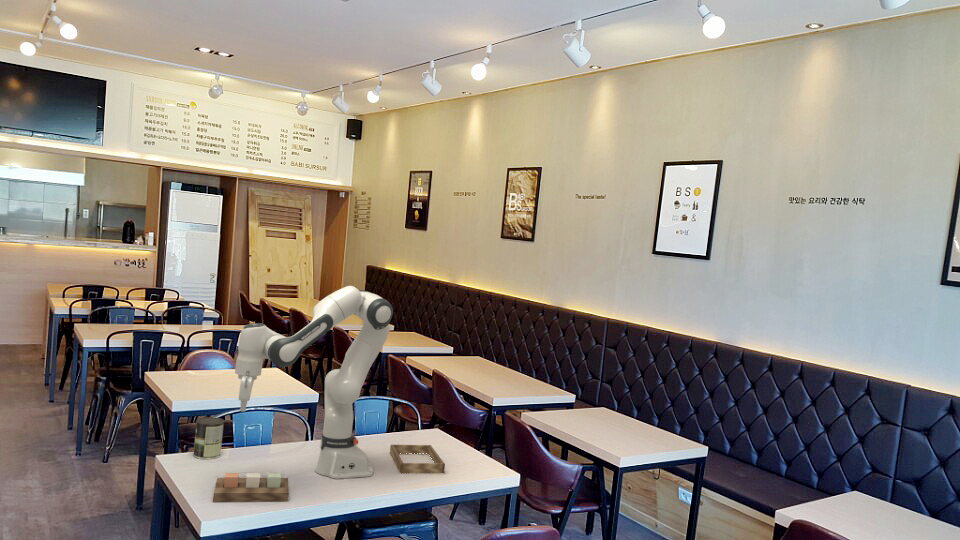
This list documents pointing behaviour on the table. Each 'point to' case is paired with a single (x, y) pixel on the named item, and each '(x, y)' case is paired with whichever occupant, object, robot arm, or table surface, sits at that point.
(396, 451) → the frame
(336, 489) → the table surface
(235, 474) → the key terracotta
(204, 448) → the coffee can
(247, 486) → the cream cube
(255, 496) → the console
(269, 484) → the key sage
